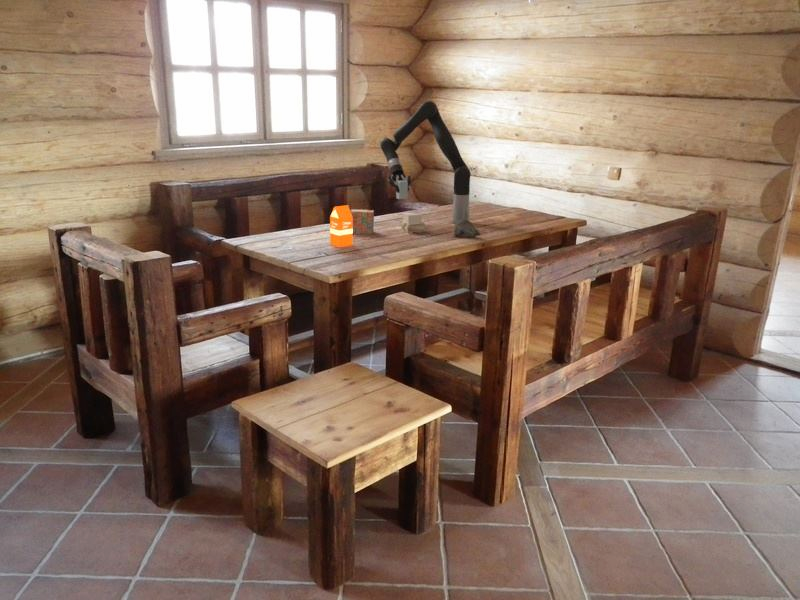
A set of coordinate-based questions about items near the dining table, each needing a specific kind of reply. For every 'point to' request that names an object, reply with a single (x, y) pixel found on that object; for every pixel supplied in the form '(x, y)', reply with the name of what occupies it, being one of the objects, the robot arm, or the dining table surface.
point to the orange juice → (341, 226)
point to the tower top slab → (412, 218)
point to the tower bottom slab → (412, 227)
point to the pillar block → (402, 189)
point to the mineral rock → (465, 229)
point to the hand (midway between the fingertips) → (403, 191)
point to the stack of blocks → (363, 221)
